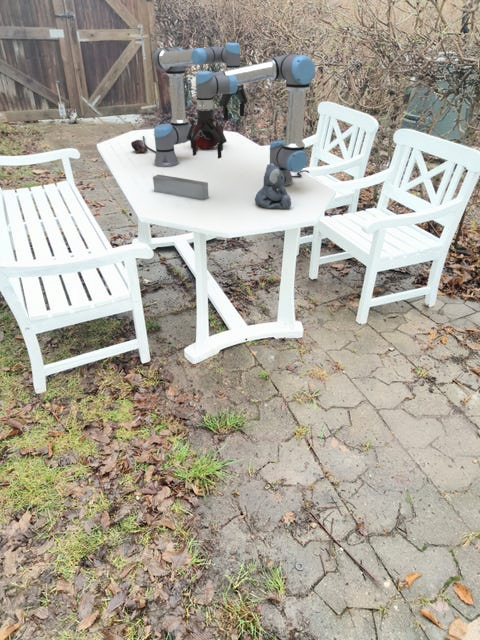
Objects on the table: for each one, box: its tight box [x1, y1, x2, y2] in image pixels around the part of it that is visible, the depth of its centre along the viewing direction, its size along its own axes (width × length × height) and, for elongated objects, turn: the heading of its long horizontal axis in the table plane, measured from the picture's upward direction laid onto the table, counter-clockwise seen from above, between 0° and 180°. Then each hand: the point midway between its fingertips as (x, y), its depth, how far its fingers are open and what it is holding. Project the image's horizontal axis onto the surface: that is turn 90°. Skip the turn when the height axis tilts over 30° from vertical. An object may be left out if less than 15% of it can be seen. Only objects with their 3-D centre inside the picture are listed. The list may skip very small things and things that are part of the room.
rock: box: [130, 139, 149, 153], centre depth 317 cm, size 12×9×10 cm
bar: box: [152, 174, 209, 201], centre depth 243 cm, size 32×5×8 cm, turn 62°
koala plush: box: [254, 162, 292, 210], centre depth 225 cm, size 17×18×20 cm
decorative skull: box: [188, 117, 224, 152], centre depth 324 cm, size 21×24×25 cm
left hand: (234, 117), depth 257 cm, fingers open, 13 cm apart
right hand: (207, 156), depth 220 cm, fingers open, 13 cm apart
